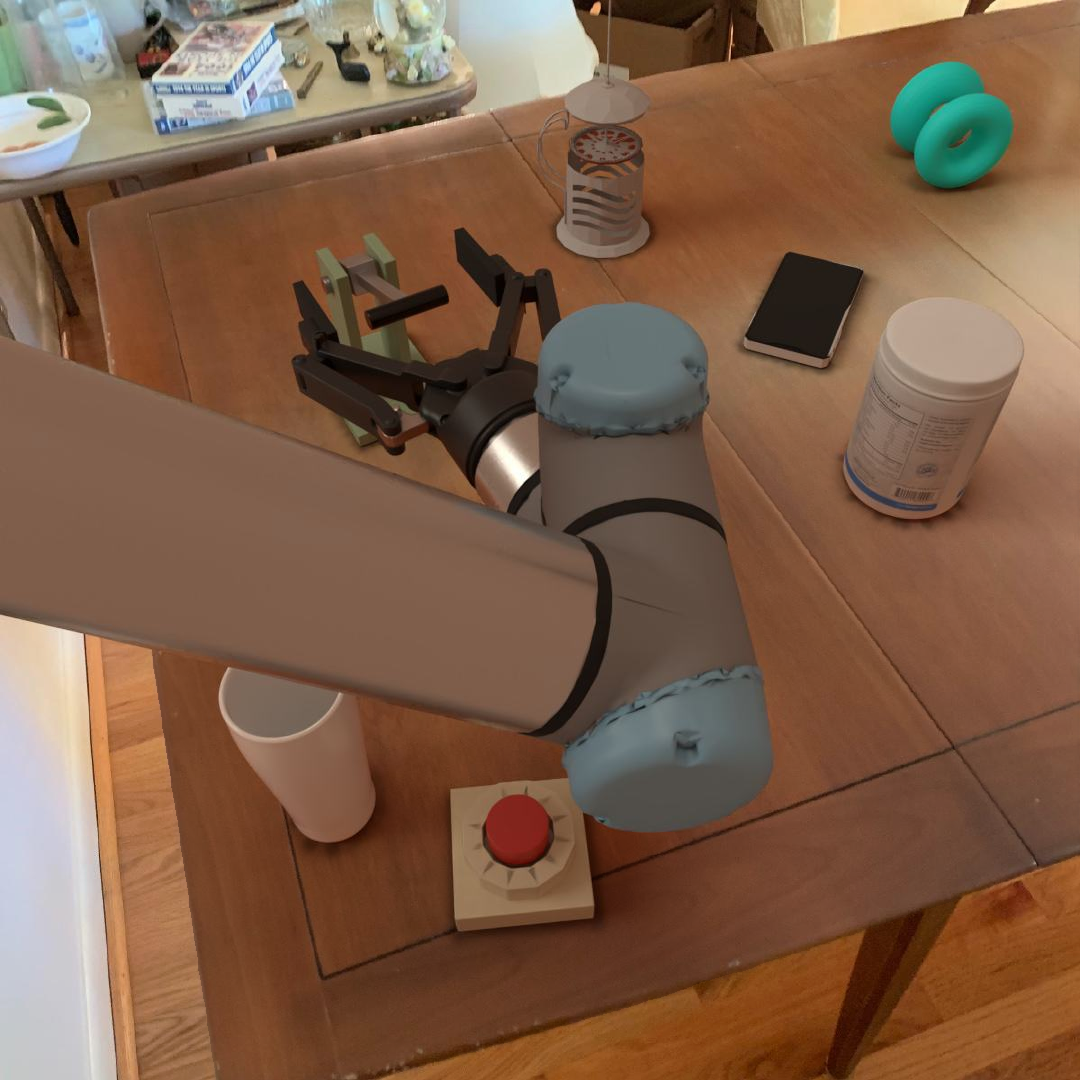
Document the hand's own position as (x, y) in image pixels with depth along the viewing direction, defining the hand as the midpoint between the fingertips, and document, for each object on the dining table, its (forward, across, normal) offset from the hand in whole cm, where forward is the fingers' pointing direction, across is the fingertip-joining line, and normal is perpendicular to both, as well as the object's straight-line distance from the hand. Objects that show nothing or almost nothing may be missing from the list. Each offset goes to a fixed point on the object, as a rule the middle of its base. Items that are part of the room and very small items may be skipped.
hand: (382, 270), depth 71 cm
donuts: (+8, +68, -16) cm, 70 cm away
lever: (+1, 0, -4) cm, 4 cm away
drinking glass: (-29, -18, -16) cm, 38 cm away
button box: (-38, -10, -16) cm, 42 cm away
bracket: (+6, 0, -16) cm, 17 cm away
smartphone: (-4, +39, -16) cm, 43 cm away
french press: (+17, +29, -16) cm, 38 cm away
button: (-38, -10, -13) cm, 41 cm away
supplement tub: (-25, +32, -16) cm, 44 cm away
